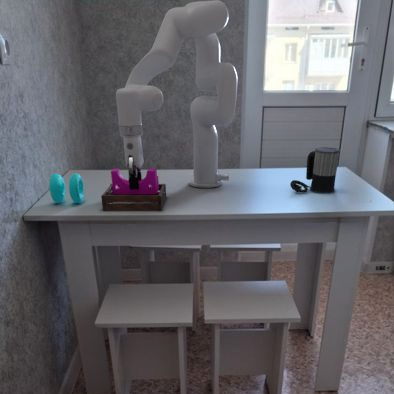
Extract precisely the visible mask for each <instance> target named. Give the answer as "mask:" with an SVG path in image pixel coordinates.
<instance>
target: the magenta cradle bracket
mask: <svg viewBox="0 0 394 394" xmlns="http://www.w3.org/2000/svg"><path fill="white" fill-rule="evenodd" d="M110 176H111V177H110V178H111V184H112V186H113V194H157V192H159V191H158V190H159V184H160V182H159V181H160V180H159V175H158V171H157V168H148V169H147V171H146V175H145V176H144V177H143V178H142V180H139V189H135V190H131V189H130V187H129V179H128V180H127V179H126V178H125V177H124V176H123V175H122V173H121V171H120V168H113V169H112V170H110ZM117 185H119V186H120V187H118V186H117Z"/></svg>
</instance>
